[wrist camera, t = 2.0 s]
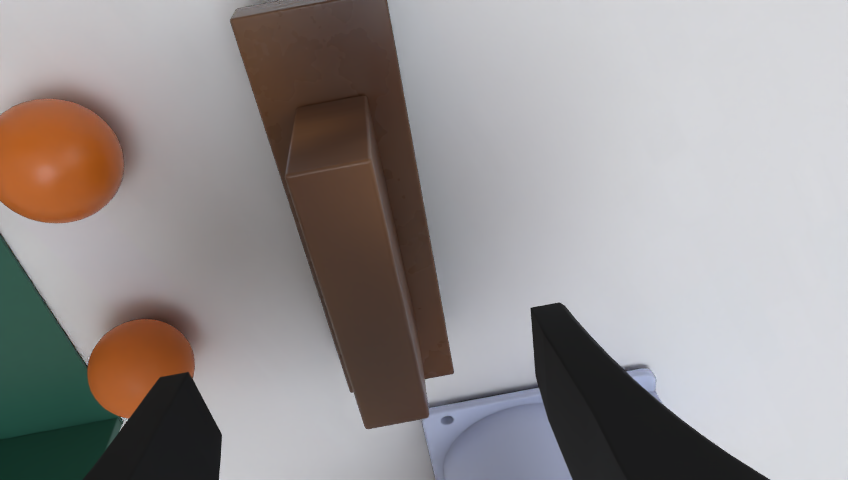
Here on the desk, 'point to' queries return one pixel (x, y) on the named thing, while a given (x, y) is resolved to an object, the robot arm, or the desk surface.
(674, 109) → the desk surface
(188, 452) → the robot arm
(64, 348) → the dustpan
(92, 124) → the small orange ball
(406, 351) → the brush
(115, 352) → the orange ball
